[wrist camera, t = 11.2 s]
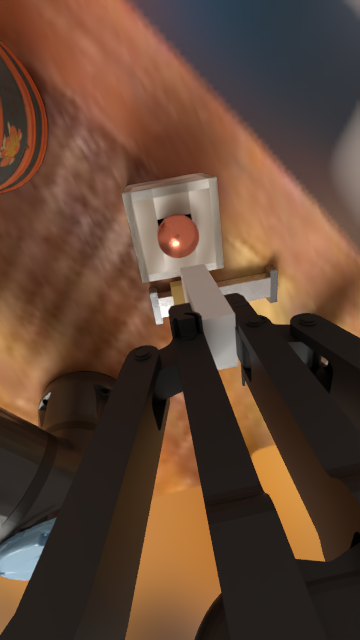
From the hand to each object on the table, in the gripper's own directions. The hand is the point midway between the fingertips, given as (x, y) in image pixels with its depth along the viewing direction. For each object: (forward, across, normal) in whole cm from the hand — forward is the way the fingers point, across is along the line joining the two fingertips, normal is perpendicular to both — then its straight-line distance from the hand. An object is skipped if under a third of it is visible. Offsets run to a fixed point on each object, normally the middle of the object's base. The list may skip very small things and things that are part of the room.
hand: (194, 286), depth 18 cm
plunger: (+17, 0, 0) cm, 17 cm away
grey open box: (+22, 0, 0) cm, 22 cm away
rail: (+22, +5, -11) cm, 25 cm away
